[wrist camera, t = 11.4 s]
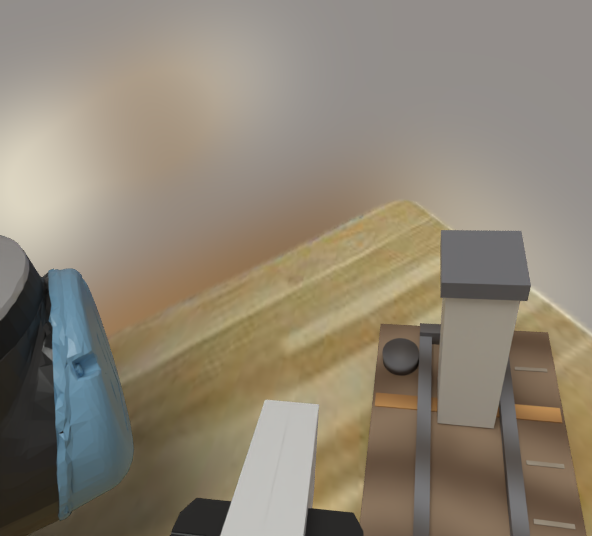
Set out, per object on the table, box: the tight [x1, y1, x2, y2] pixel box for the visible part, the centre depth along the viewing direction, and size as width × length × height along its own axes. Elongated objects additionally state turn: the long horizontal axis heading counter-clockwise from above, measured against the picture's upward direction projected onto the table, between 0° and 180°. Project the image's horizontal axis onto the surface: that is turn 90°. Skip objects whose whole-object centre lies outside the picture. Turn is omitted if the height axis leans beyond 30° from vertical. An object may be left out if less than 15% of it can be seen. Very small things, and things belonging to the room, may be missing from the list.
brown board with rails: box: [360, 323, 586, 536], centre depth 36 cm, size 28×14×2 cm, turn 169°
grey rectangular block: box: [437, 230, 531, 429], centre depth 35 cm, size 5×5×15 cm
